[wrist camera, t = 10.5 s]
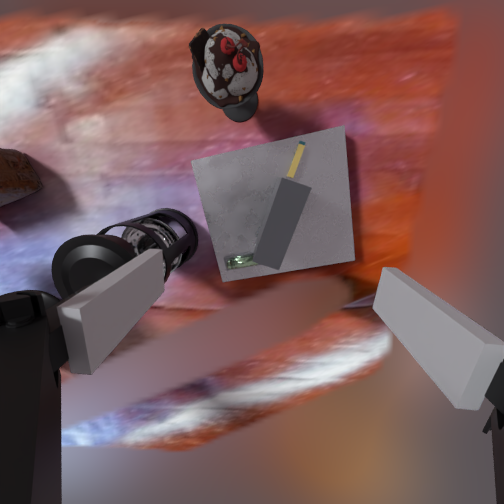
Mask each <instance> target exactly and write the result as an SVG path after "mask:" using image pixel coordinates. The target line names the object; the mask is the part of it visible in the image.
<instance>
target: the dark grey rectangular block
mask: <svg viewBox="0 0 504 504" xmlns="http://www.w3.org/2000/svg"><path fill="white" fill-rule="evenodd" d="M304 147H305V145H302V144H298V147H297V149H296V152H295V155H294V158H293V161H292V163H291V166H290V169H289V172H288V175H287V176H288V177H291V178H293V177H294V175H295V172H296V169H297V166H298V164H299V161H300V158H301V156H302V153H303V150H304ZM311 189H312V188H311V187H308V186H306V185H303V184H300V183H297V182H294V181H291V180H288V179H285V178H283V177H278V178H277V181H276V183H275V186H274V189H273V192H272V195H271V198H270V201H269V204H268V207H267V209H266V212H265V215H264V218H263V221H262V224H261V227H260V230H259V233H258V235H257V238H256V243H255V249H254V255H253V261H252V262H255V263H258V264H261V265H264V266H267V267H270V268H273V269H276V270H279V269H280V267H281V264H282V262H283V259H284V257H285V254H286V252H287V249H288V246H289V244H290V241H291V239H292V236H293V234H294V231H295V229H296V226H297V224H298V221H299V219H300V216H301V214H302V211H303V209H304V206H305V204H306V201H307V199H308V196H309V194H310V191H311Z"/></svg>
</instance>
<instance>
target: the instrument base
mask: <svg viewBox="0 0 504 504" xmlns="http://www.w3.org/2000/svg"><path fill="white" fill-rule="evenodd" d="M298 144H302V145H305V147H304V150H303V153H302V156H301V158H300V161H299V164H298V166H297V169H296V172H295V175H294V177H293V178H291V177H288V176H287V175H288V172H289V169H290V166H291V163H292V161H293V158H294V155H295V152H296V149H297V147H298ZM191 164H192V168H193V172H194V175H195V179H196V183H197V187H198V190H199V194H200V198H201V202H202V206H203V209H204V213H205V217H206V221H207V224H208V228H209V232H210V236H211V240H212V243H213V247H214V251H215V255H216V258H217V262H218V266H219V270H220V274H221V277H222V281H223V282H227V281H233V280H239V279H245V278H251V277H257V276H264V275H270V274H276V273H282V272H288V271H294V270H300V269H306V268H312V267H318V266H324V265H330V264H336V263H342V262H348V261H354V260H355V253H354V240H353V228H352V215H351V202H350V190H349V177H348V165H347V152H346V139H345V127H344V125H343V126H339V127H335V128H330V129H326V130H322V131H317V132H313V133H309V134H304V135H300V136H296V137H292V138H287V139H283V140H279V141H274V142H270V143H266V144H261V145H257V146H253V147H248V148H244V149H240V150H236V151H231V152H227V153H223V154H218V155H214V156H210V157H205V158H201V159H197V160H192V161H191ZM278 177H283V178H285V179H288V180H291V181H294V182H297V183H300V184H303V185H306V186H308V187H311V188H312V189H311V191H310V194H309V196H308V199H307V201H306V204H305V206H304V209H303V211H302V214H301V216H300V219H299V221H298V224H297V226H296V229H295V231H294V234H293V236H292V239H291V241H290V244H289V246H288V249H287V252H286V254H285V257H284V259H283V262H282V264H281V267H280V269H279V270H276V269H273V268H270V267H267V266H264V265H261V264H258V263H255V262H252V261H253V255H254V249H255V243H256V238H257V235H258V233H259V230H260V227H261V224H262V221H263V218H264V215H265V212H266V209H267V207H268V204H269V201H270V198H271V195H272V192H273V189H274V186H275V183H276V181H277V178H278Z"/></svg>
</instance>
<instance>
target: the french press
mask: <svg viewBox="0 0 504 504" xmlns="http://www.w3.org/2000/svg"><path fill="white" fill-rule="evenodd" d="M161 217H171V218H173V219H175V220H176V221H177V222H179V223H180V224H181V225H182V227H183V228H184V229H185V231H186V233H187V234H186V235H184V236H183V237H182V238H180V239H179V237H178V235H177V234H176V233H175V231H174V230H173V229H172V228H171V227H169V226H168V225H167V224H165V223H163V222H161V221H159V220H156V219H158V218H161ZM116 226H126V229H125V230H124V232H123V234H122V238H120V237H117V236H113V235H105V233H106V232H107V231H109V230H110V229H111V228H113V227H116ZM197 246H198V234H197V230H196V228H195V226H194V224H193V222H192V221H191V220H190V219H189V218H188V217H187V216H186V215H185V214H183V213H181V212H180V211H177V210H175V209H170V208H161V209H158V210H155V211H153V212H151V213H150V214H146V215H143V216H140V217H137V218H134V219H131V220H128V221H124V222H121V223H118V224H115V225H112V226H109V227H107V228H105V229H103V230H101V231H100V232H99V233H98V234H97V235H81V236H78V237H74V238H72V239H70V240H68V241H66V242H64V243H63V244H62V245H61V246H60V247H59V248H58V250H57V251H56V253H55V255H54V258H53V261H52V277H53V281H54V284H55V287H56V289H57V291H58V292H59V294H60V296H61V297H62V298H63V299H65V298H67V297H68V296H70V295H71V294H73V293H74V294H75V292H76V291H78V290H79V289H81V288H83V287H84V286H87V285H90V284H93V283H95V282H97V281H99V280H101V279H102V278H104V277H105V276H107V275H108V274H110V273H112V272H113V271H115V270H116V269H118V268H120V267H121V266H123V265H124V264H126V263H128V262H129V261H131V260H132V259H134V258H135V257H137V256H139V255H140V254H142V253H143V252H145V251H147V250H148V249H161V250H162V254H163V273H164V283H165V282H166V281H167V279H168V277H169V275H170V273H172V272H173V271H174V270H175V269H176V268H178V267H180V266H181V265H182V264H184V263H185V262H186V261H188V260H189V259H190V258H191V257H192V256H193V255H194V253H195V251H196V249H197ZM187 248H188V249H187ZM185 249H187V250H186V252H185V253H184V254H183V255H182V252H183V251H184V250H185ZM36 291H38V290H36ZM39 292H41V294H42V297H43V301H44V306H45V310H47V309H48V308H50V307H52V306H53V305H55V304H56V303H58V302H60V301H61V300H59V299H58V298H56V297H55V296H53V295H51V294H49V293H46V292H43V291H39Z"/></svg>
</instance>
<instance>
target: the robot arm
mask: <svg viewBox="0 0 504 504" xmlns="http://www.w3.org/2000/svg"><path fill="white" fill-rule="evenodd" d="M163 292H164V273H163V254H162V250H161V249H148V250H147V251H145V252H143V253H142V254H140V255H139V256H137V257H135V258H134V259H132V260H131V261H129V262H128V263H126V264H124V265H123V266H121V267H120V268H118V269H116V270H115V271H113V272H112V273H110V274H108V275H107V276H105V277H104V278H102V279H101V280H99V281H97V282H95V283H93V284H90V285H87V286H84V287H83V288H81V289H79V290H78V291H76V292H75V294H74V293H73V294H71V295H70V296H68V297H67V298H65V299H63V300H61V301H60V302H58V303H56V304H55V305H53V306H52V307H50V308H48V309H47V310H45V306H44V301H43V297H42V294H41V292H39V291H36V290H24V291H16V292H12V293H7V294H4V295H1V296H0V504H61V503H62V502H61V501H62V498H61V497H62V496H61V495H62V494H61V374H60V370H59V368H60V367H61V366H62V365H63V364H65V363H66V362H67V361H69V366H70V371H71V373H77V374H88V375H92V374H93V372H94V371H95V370H96V369H97V368H98V367H99V366H100V364H101V363H102V362H103V361H104V360H105V359H106V358H107V356H108V355H109V354H110V353H111V352H112V351H113V349H114V348H115V347H116V346H117V345H118V344H119V343H120V341H121V340H122V339H123V338H124V337H125V336H126V335H127V333H128V332H129V331H130V330H131V329H132V328H133V326H134V325H135V324H136V323H137V322H138V321H139V320H140V318H141V317H142V316H143V315H144V314H145V313H146V312H147V310H148V309H149V308H150V307H151V306H152V305H153V303H154V302H155V301H156V300H157V299H158V298H159V297H160V295H161V294H162V293H163ZM373 309H374V310H375V312H376V313H377V314H378V315H379V316H380V318H381V319H382V320H383V321H384V322H385V324H386V325H387V326H388V327H389V328H390V330H391V331H392V332H393V333H394V334H395V336H396V337H397V338H398V339H399V340H400V342H402V344H403V345H404V346H405V348H406V349H407V350H408V351H409V352H410V354H411V355H412V356H413V357H414V358H415V359H416V361H417V362H418V363H419V364H420V366H421V367H422V368H423V369H424V370H425V372H426V373H427V374H428V375H429V376H430V377H431V379H432V380H433V381H434V382H435V384H436V385H437V386H438V387H439V388H440V390H441V391H442V392H443V393H444V394H445V396H446V397H447V398H448V399H449V400H450V402H451V403H452V404H453V405H454V406H455V408H457V409H468V410H479V408H480V406H481V404H482V402H483V400H484V398H485V397H486V398H487V399H488V400H489V401H490V402H491V403H492V404H493V405H494V406H495V407H494V409H493V411H492V413H491V415H490V417H489V419H488V421H487V423H486V425H485V427H484V429H483V432H484V433H486V434H487V432H488V431H489V430H492V443H493V456H494V471H495V486H496V499H497V500H496V501H497V504H504V341H503V340H501V339H500V338H498V337H497V336H496V335H494V334H492V333H491V332H490V331H488V330H487V329H485V328H484V327H482V326H480V325H479V324H478V323H476V322H475V321H474V320H472V319H471V318H469V317H467V316H466V315H464V314H463V313H461V312H460V311H458V310H457V309H456V308H454V307H453V306H451V305H450V304H448V303H447V302H445V301H444V300H442V299H441V298H439V297H438V296H436V295H435V294H434V293H432V292H431V291H429V290H428V289H426V288H425V287H423V286H422V285H420V284H419V283H418V282H416V281H415V280H413V279H412V278H410V277H409V276H407V275H406V274H404V273H403V272H401V271H400V270H398V269H397V268H390V267H383V270H382V273H381V277H380V281H379V285H378V289H377V293H376V297H375V301H374V304H373Z"/></svg>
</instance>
